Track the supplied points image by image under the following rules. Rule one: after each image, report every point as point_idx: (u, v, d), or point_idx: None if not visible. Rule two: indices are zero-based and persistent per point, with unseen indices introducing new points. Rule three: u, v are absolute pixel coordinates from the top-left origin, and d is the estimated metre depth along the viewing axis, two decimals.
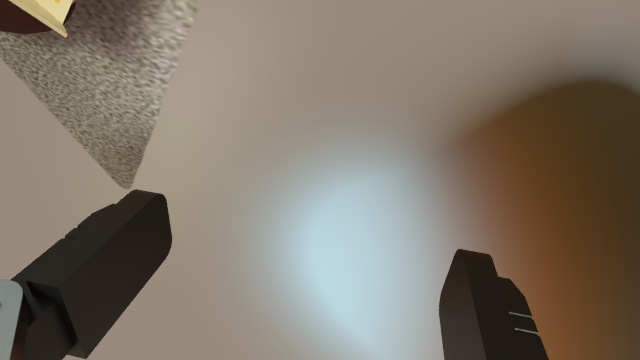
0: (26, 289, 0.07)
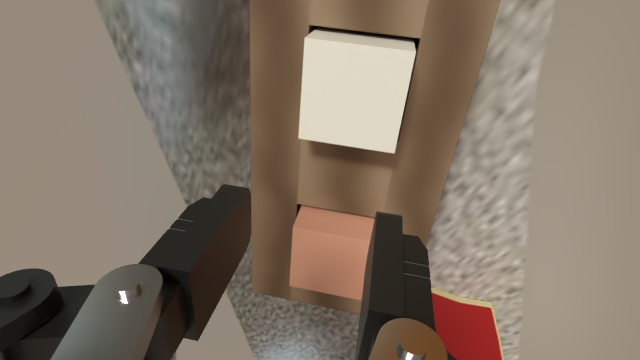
0: None
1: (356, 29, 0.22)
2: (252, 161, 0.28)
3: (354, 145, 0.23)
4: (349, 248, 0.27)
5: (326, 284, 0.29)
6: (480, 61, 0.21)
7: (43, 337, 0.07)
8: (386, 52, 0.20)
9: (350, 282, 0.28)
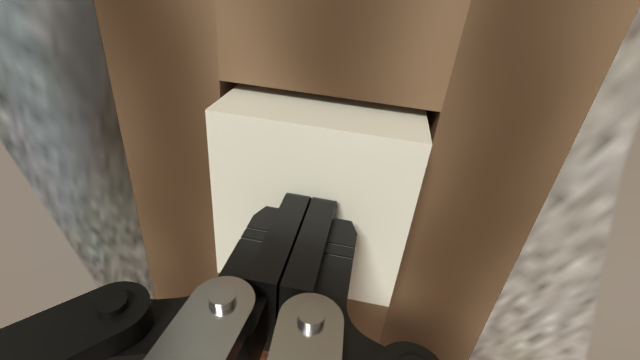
0: None
1: (311, 91, 0.11)
2: (155, 287, 0.17)
3: None
4: None
5: None
6: (562, 158, 0.11)
7: None
8: (370, 142, 0.10)
9: None
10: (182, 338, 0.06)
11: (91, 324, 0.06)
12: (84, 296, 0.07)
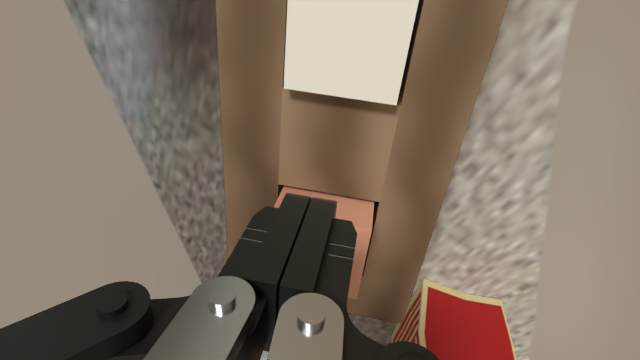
0: None
1: None
2: (223, 132, 0.23)
3: (349, 96, 0.19)
4: None
5: None
6: None
7: None
8: None
9: None
10: (182, 338, 0.06)
11: (91, 324, 0.06)
12: (84, 296, 0.07)
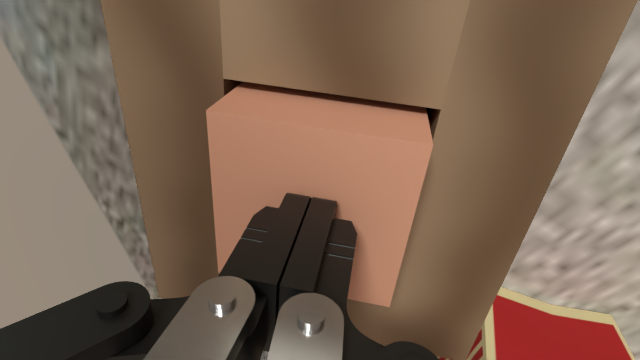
0: None
1: None
2: None
3: None
4: (357, 168, 0.10)
5: None
6: None
7: None
8: None
9: (360, 262, 0.12)
10: (182, 338, 0.06)
11: (91, 324, 0.06)
12: (85, 296, 0.07)
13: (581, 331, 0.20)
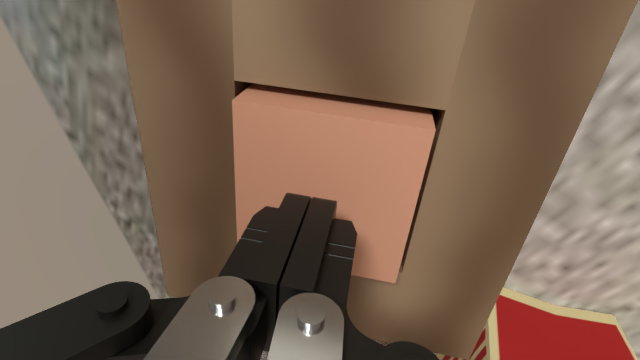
0: None
1: None
2: None
3: None
4: (367, 152, 0.11)
5: None
6: None
7: None
8: None
9: (369, 240, 0.13)
10: (182, 338, 0.06)
11: (91, 324, 0.06)
12: (84, 296, 0.07)
13: (584, 331, 0.20)
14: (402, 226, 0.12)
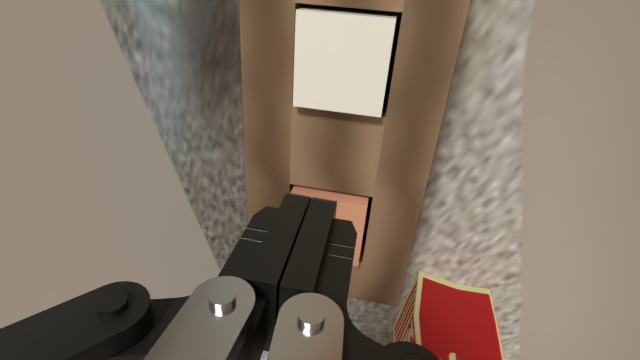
0: None
1: (340, 5, 0.23)
2: (245, 141, 0.28)
3: (344, 110, 0.25)
4: (342, 213, 0.29)
5: None
6: (461, 33, 0.22)
7: None
8: (369, 20, 0.22)
9: None
10: (182, 338, 0.06)
11: (91, 324, 0.06)
12: (85, 296, 0.07)
13: (470, 297, 0.37)
14: (358, 242, 0.30)
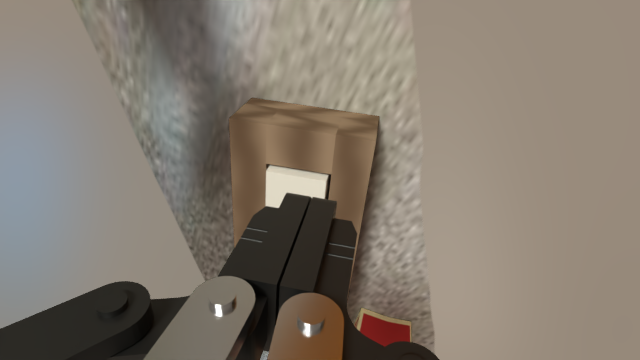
0: None
1: (293, 167, 0.37)
2: (234, 234, 0.42)
3: None
4: None
5: None
6: (366, 187, 0.36)
7: None
8: (310, 180, 0.36)
9: None
10: (182, 339, 0.06)
11: (91, 324, 0.06)
12: (84, 296, 0.07)
13: (396, 328, 0.52)
14: None
